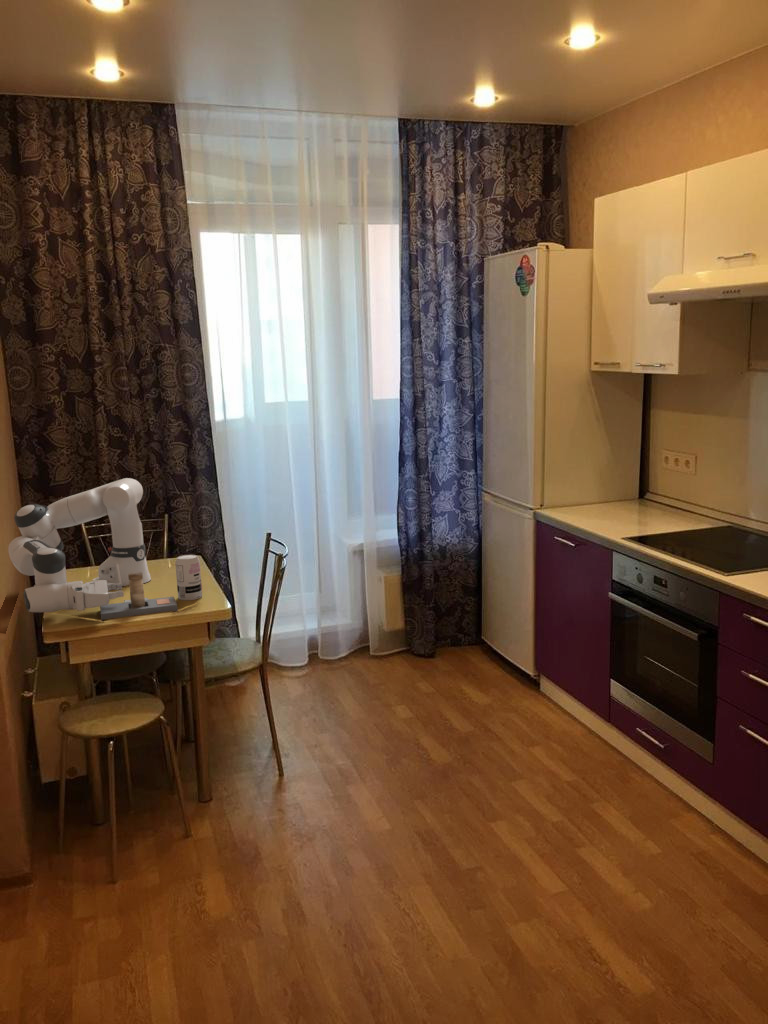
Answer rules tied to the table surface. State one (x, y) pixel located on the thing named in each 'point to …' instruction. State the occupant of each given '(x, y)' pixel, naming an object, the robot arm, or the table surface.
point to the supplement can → (188, 577)
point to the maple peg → (136, 590)
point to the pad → (130, 600)
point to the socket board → (150, 607)
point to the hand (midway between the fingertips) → (122, 589)
